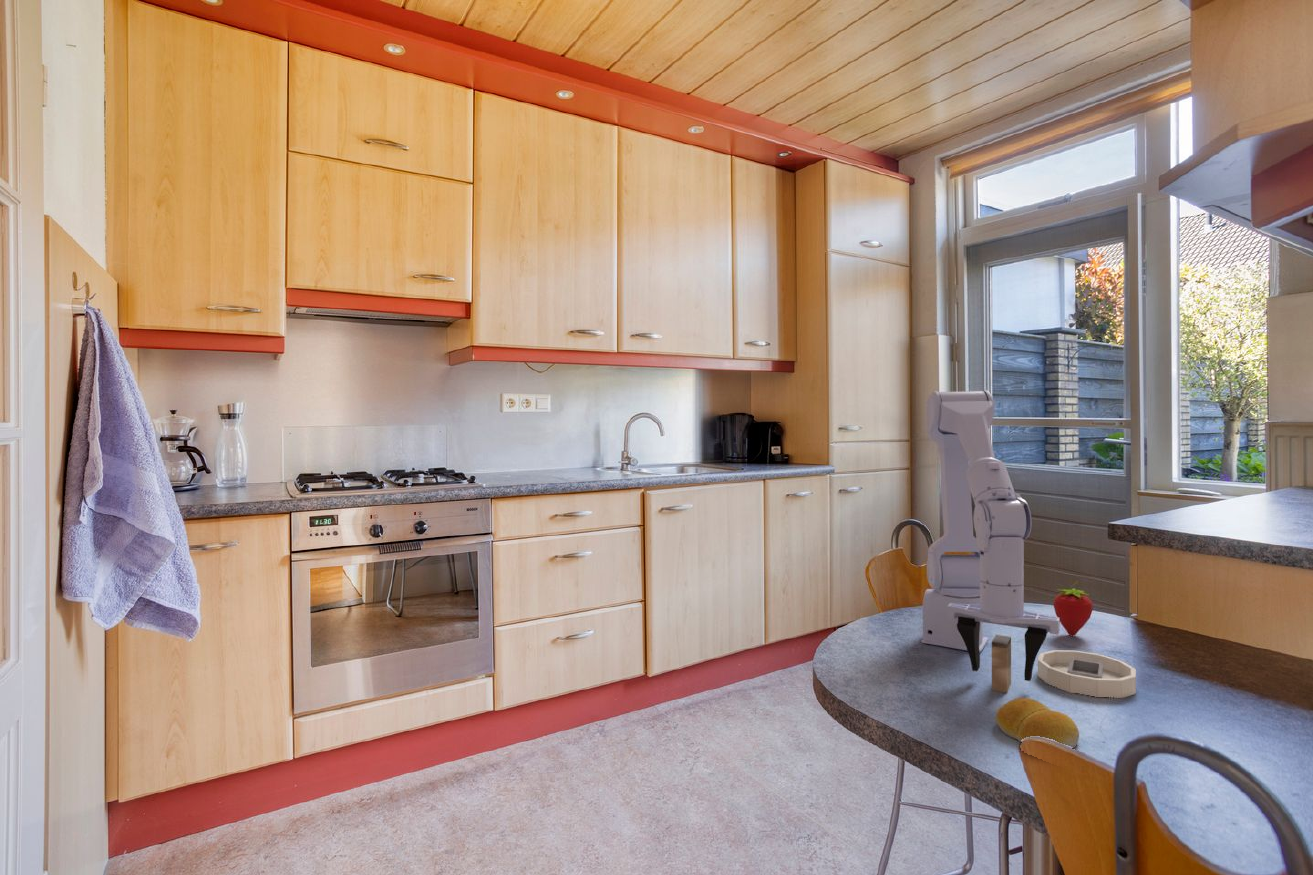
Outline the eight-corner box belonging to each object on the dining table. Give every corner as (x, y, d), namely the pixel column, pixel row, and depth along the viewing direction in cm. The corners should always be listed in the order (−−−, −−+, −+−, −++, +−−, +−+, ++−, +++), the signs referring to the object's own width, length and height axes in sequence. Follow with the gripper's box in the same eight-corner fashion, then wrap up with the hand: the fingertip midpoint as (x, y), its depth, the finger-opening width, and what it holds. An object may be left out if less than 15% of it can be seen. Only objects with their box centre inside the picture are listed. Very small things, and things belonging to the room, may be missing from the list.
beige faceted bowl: (1034, 685, 99) (1034, 668, 99) (1043, 660, 109) (1043, 645, 109) (1136, 704, 92) (1136, 686, 92) (1135, 676, 102) (1135, 659, 102)
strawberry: (1097, 634, 122) (1097, 579, 121) (1086, 644, 116) (1086, 587, 116) (1060, 627, 126) (1060, 574, 126) (1047, 636, 121) (1048, 581, 120)
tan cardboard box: (991, 689, 98) (991, 642, 98) (996, 680, 101) (996, 634, 101) (1007, 692, 97) (1007, 644, 97) (1011, 683, 100) (1011, 636, 100)
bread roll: (1047, 759, 78) (1047, 725, 78) (984, 727, 87) (984, 696, 87) (1097, 746, 81) (1097, 713, 81) (1032, 716, 90) (1032, 686, 90)
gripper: (942, 580, 99) (942, 671, 100) (1056, 594, 91) (1056, 693, 91) (952, 571, 105) (953, 657, 106) (1060, 583, 97) (1060, 677, 97)
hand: (1001, 673), depth 99 cm, fingers open, 6 cm apart
